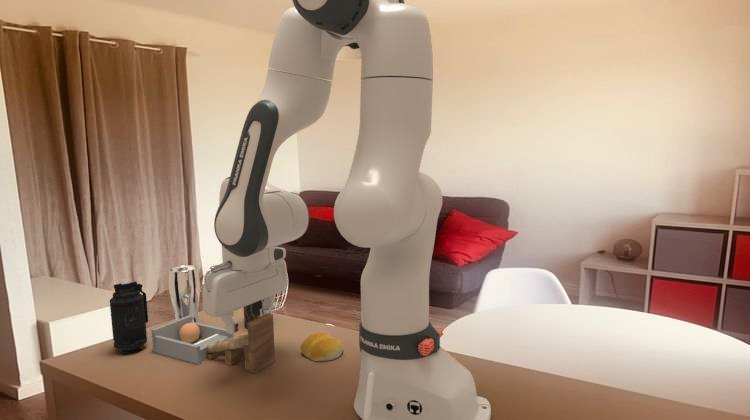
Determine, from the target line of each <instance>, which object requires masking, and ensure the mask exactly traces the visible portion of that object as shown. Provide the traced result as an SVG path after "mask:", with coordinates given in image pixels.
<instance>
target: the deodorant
mask: <svg viewBox="0 0 750 420" xmlns="http://www.w3.org/2000/svg"><path fill="white" fill-rule="evenodd" d="M263 303H264V299H262V300H260V301H257V302H255V303H252V304H250V305H247V306H245V307H243V308H242V309H243V318H244V319H243V320H244V329H246V330H248V327H247V323H248V322H250V321H252V320H255V319H257V318H259V317H260V309H261V308H262V307H263Z"/></svg>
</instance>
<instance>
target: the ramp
mask: <svg viewBox="0 0 750 420" xmlns="http://www.w3.org/2000/svg"><path fill="white" fill-rule="evenodd" d="M247 327H248V329H247V334H242V335H236V336H233V337H232V338H226V339H221V340H218V341H217V343H215V344H210V345H208V346H207V348H206V351H207V352H208V354H206V358H207V359H206V360H208V361H211V360H213V359H215V358H218V357H220V356H221V355H224V357H225V358H224V360H225V365H228V366H233V365H235V364H237V363H239V362H241V361H242V360H244V370H247V371H249V373H251V374H257V373H258V372H260V371H261V370H264V369H265V368H266V367H268V366H271V364H273V363H275V362H276V352H275V351H276V350H275V349H276V348H275V332H274V331H275V330H274V314H273V313H271V314H269V313H268V314H266V315H263V316H261V317H259V318H257V319H255V320H252V321H250V322H248V323H247Z"/></svg>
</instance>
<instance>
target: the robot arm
mask: <svg viewBox="0 0 750 420" xmlns="http://www.w3.org/2000/svg"><path fill="white" fill-rule="evenodd" d="M292 5H293V7H289V8H288V9H286V10H284V12H283V14H282V15H281V17H280V19H279V22H278V25H277V27H276V32H275V35H274V39H273V42H272V46H271V48H270V49H271V50H270V54H269V61H268V66H267V68H268V69H267V71H266V72H267V74H266V78H265V81H264V85H263V87H262V90H261V93H260V96H259V97H258V99H257V101H256V103H255V104H254V105H252V107H251V108H250V110H249V111H248V114H247V116H246V118H245V121H244V124H243V127H242V131H241V135H240V138H239V141H238V145H237V149H236V152H235V157H234V159H233V164H232V168H231V172H230V176H228V177H226V178H225V179H223V180H222V182H221V185H220V190H219V199H218V200H219V206H218V207H217V210H216V212H215V216H214V224H213V225H214V229H213V230H214V233H215V236H216V238H217V241H218V242H219V244H221V255H222V256H221V257H222V258H221V259H222V263H219V264H216V265H211V266H210V267H209V269H208V270H207V271H206V273H205V274H204V276H203V278H204V281H203V282H204V283H203V288H202V311H203V313H204V314H205V315H206V316H209V317H215V318H220V319H221V321H222V322H223V323H224V325H225V329H226V332H227V333H229V334H233V335H234V334H235V333H238V332H239V322H235V321H234V320H233V317H234V315H235V314H234V312H235V311H237V310H240V309H244V308H243V307H245V306H247V305H250V304H252V303H255V302H257V301H260V300H262V299H264V303H263V307H262V308H261V309H260V317H261V316H263V315H266V314H268V313H269V314H272V307H273V304H274V302H275V295H276V294H279V293H281V292H283V291H285V290H286V288H287V286H288V268H287V267H288V266H287V262H286V260H285V259H286V256H287V251H286V248H284V247H281V246H280V245H283V244H286V243H289V242H293V241H295V240H298V239H300V238H301V237H303V235H305V233H306V232H307V230H308V227H309V225H310V224H309V223H310V212H309V208H308V205H307V203H306V201H305V200H304V199H303V198H302V197H301V195H299V194H298V193H296V192H293V191H291V192H290V191H287V190H285V189H282V188H279V187H277V186H275V185H274V184H271V183H269V182H268V179H269V176H270V172H271V169H272V164H273V161H274V157H275V155H276V153H277V151H278V149H279V148H280V147H281V146H282V144H283V143H284V142H286V140H288V139H289V138H291V137H292V136H294V135H295V134H297V133H298V132H299V133H300V132H301V131H302V130H304V129H307V128H309V127H311V126H312V125H314V124H315V123H317V122H318V121H319V120H320V119H321V118H322V116H323V115H324V113H325V111H326V108H327V106H328V103H329V100H330V95H331V92H332V91H331V90H332V86H333V85H332V84H333V78H334V72H335V66H336V60H337V57H338V55H339V53H340V51H341V50H342V49H343V48H344V47H346V46H348V47H349V48H350V49H352V50H357V49H359V51H360V56H361V57H360V59H361V61H360V63H361V66H360V68H361V71H360V100H359V102H360V103H359V104H360V105H359V107H360V108H359V129H358V135H357V142H356V147H355V151H354V155H353V159H352V163H351V167H350V170H349V174H348V177H347V180H346V182H345V184H344V186H343V188H342V189H341V190H340V192H339V193H338V194H337V197H336V198H335V199H336V200H335V202H334V206H333V219H334V223H335V225H336V228H337V230H338V231H339V233H340V235H341V236H342V237H343V238H344V239H345V240H346V241H347V242H348V243H350V244H352V245H353V246H356V247H359V248H365V249H367V248H369V249H370V250H369V255H368V257H367V261H366V264H365V266H364V268H363V270H362V273H361V275H360V276H361V277H360V303H361V304H360V309H361V310H360V311H361V312H360V313H361V321H360V322H359V327H358V341H359V343H358V344H359V350H360V354H361V355H360V356H361V357H360V370H359V377H358V385H357V389H356V395H355V398H354V400H353V409H354V411H355V413H356V415H357V416H359V418H361V420H491V418H492V410H491V409H492V407H491V404H490V401H489V400H488V399H487V398H485V397H483V396H479V395H478V394H477V393H478V392H477V388H476V383H475V379H474V376H473V374H472V373H471V371H470V370H468V368H466V367H465V366H464V365H463V364H461V363H460V362H459V361H458V360H456V359H455V358H454V357H453V356H452V355H451V354H449V352H448V351H447V350H445V349H444V348H443V347H441V338H442V336H444V332H443V331H444V328H443V327H441V328H439V330H436V329H435V328H434V326H433V324H432V323H431V321H430V273H431V272H430V270H431V266H432V265H431V264H432V260H433V259H432V257H433V252H434V247H435V246H434V245H435V240H436V233H437V232H436V231H437V227H438V226H437V225H438V219H439V216H440V212H441V210H442V208H443V207H442V206H443V193H442V191H441V188H440V185H439V183H437V181H436V180H434V179H433V178H432V177H431V176H429V175H428V174H425V173H423V172H421V171H420V167H421V163H422V160H423V159H422V158H423V156H424V151H425V148H426V144H427V142H428V140H429V139H430V136H431V134H432V113H433V112H432V111H433V89H434V88H433V86H434V85H433V83H434V82H433V81H434V57H433V44H432V35H431V30H430V28H431V27H430V23H429V20H428V17H427V15H426V14H425V13H424V12H423V11H422V10H420V9H419V8H418V7H416V6H413V5H411V4H408V3H405V0H292ZM279 246H280V247H279Z"/></svg>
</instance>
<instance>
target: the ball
mask: <svg viewBox="0 0 750 420" xmlns="http://www.w3.org/2000/svg"><path fill="white" fill-rule="evenodd" d="M179 336H180V339H181V340H182V341H183V342H186V343H192V342H195V341H196V340H197V339H198V338H199V336H200V329H199V327H198V326H197V325H196V324H194V323H187V324H185V325H183V326H182V327H181V329H180V331H179Z"/></svg>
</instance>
